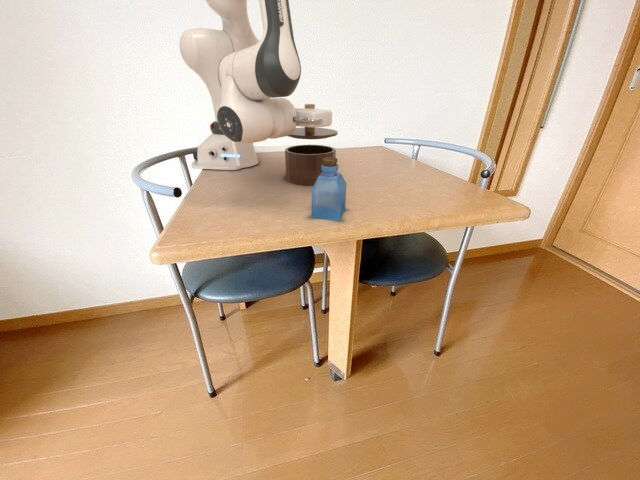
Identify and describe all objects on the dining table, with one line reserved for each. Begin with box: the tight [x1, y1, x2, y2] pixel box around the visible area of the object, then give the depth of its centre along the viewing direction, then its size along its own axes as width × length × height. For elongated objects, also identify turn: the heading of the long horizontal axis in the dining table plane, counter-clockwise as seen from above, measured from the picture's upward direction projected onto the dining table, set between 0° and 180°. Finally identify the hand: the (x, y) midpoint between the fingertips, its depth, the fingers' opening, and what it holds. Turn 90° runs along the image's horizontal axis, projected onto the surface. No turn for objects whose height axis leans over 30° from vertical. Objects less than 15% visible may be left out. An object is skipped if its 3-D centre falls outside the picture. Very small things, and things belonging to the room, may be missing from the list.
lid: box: [288, 103, 339, 140], centre depth 82 cm, size 16×16×8 cm
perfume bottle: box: [311, 157, 347, 222], centre depth 63 cm, size 6×6×12 cm
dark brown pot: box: [284, 144, 337, 186], centre depth 88 cm, size 15×15×8 cm
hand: (311, 113), depth 82 cm, fingers closed on lid, 3 cm apart
